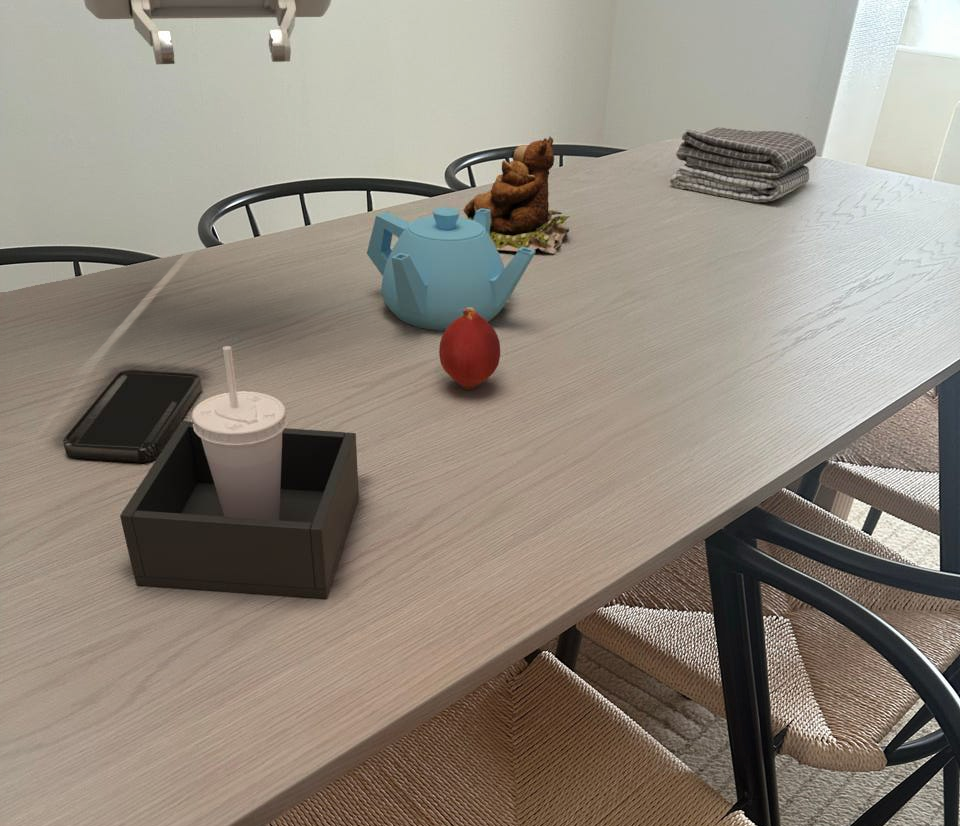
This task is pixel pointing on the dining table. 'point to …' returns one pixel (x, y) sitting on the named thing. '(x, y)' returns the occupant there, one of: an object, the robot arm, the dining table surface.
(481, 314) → the teapot
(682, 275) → the dining table surface
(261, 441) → the smoothie
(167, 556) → the black tray
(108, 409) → the phone
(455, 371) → the onion
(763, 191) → the towel
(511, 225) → the bear figurine
